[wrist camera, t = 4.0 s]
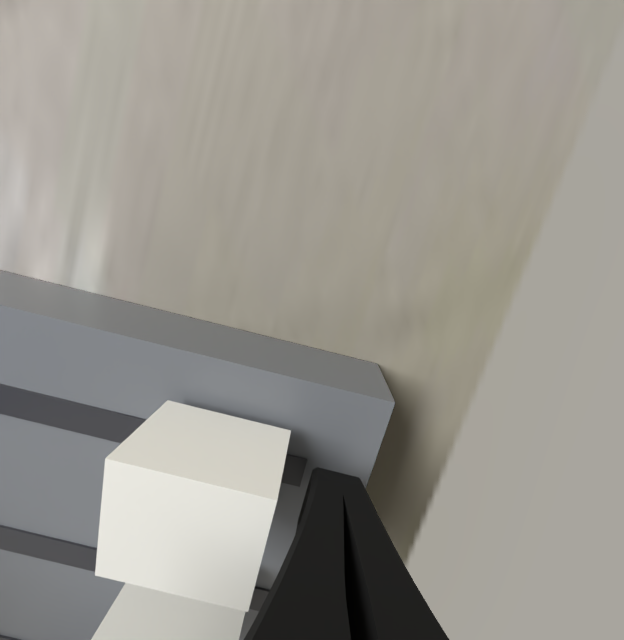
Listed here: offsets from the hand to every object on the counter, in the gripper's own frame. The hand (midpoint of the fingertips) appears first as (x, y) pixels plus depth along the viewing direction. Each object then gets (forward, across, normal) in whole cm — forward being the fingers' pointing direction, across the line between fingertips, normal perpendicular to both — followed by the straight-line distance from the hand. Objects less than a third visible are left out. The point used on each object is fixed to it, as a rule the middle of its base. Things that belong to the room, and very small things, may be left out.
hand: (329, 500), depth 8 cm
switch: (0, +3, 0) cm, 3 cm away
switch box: (+4, +6, +6) cm, 9 cm away
